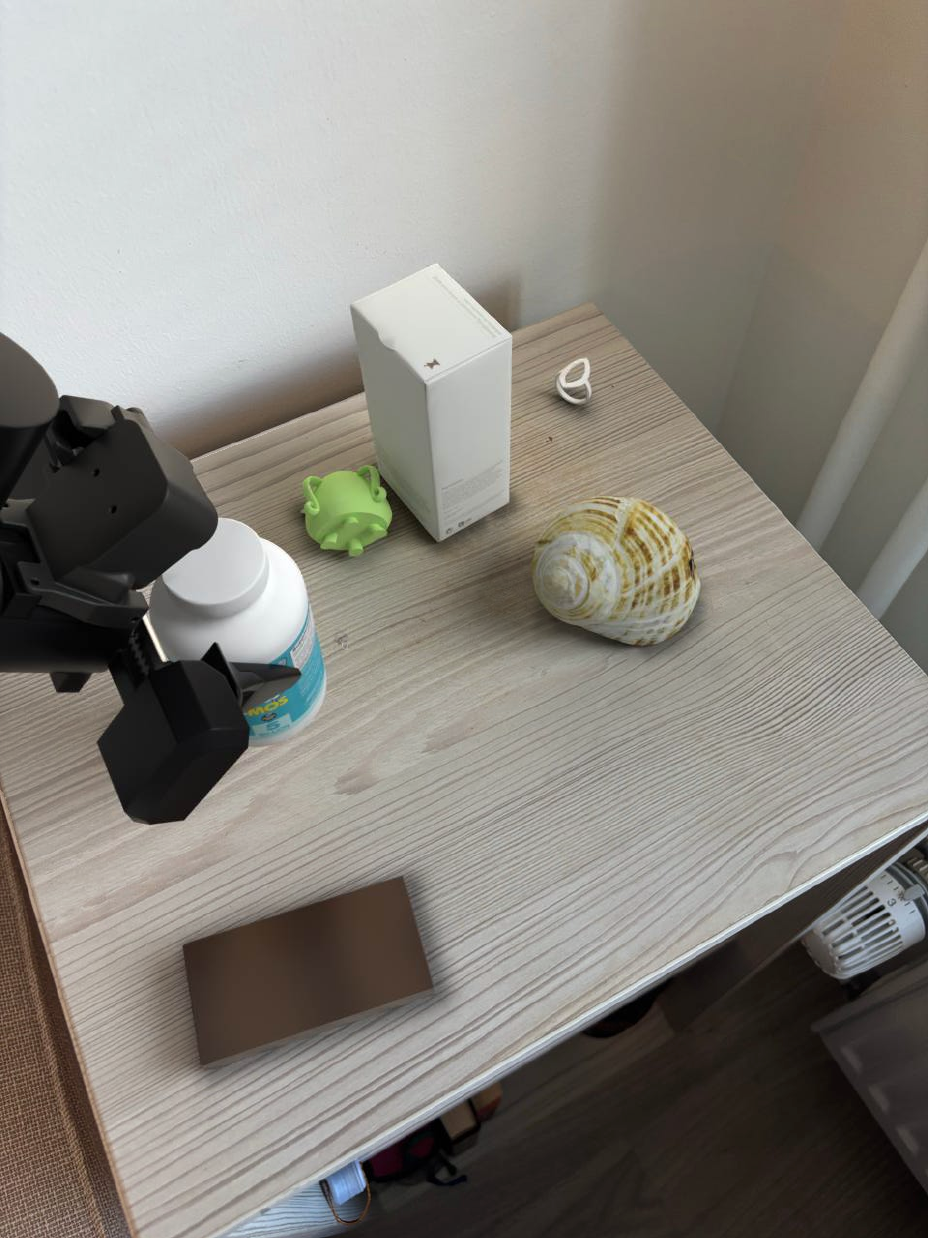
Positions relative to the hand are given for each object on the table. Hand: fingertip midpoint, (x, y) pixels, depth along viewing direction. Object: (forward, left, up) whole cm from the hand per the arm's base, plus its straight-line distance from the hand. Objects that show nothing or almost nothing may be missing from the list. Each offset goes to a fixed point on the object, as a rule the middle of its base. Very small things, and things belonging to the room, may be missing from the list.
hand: (265, 619), depth 47 cm
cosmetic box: (+13, +15, -12) cm, 23 cm away
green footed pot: (+6, +13, -12) cm, 19 cm away
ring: (+25, +20, -12) cm, 34 cm away
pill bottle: (-1, 0, -7) cm, 7 cm away
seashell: (+21, +3, -12) cm, 25 cm away
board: (-3, -15, -12) cm, 19 cm away
